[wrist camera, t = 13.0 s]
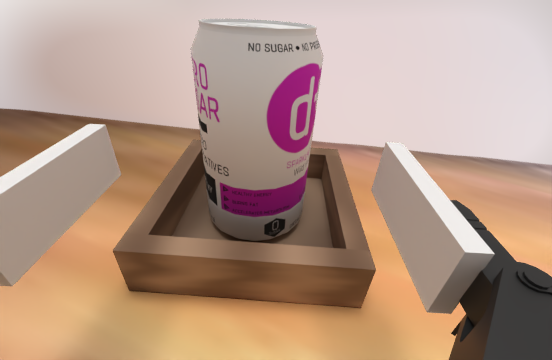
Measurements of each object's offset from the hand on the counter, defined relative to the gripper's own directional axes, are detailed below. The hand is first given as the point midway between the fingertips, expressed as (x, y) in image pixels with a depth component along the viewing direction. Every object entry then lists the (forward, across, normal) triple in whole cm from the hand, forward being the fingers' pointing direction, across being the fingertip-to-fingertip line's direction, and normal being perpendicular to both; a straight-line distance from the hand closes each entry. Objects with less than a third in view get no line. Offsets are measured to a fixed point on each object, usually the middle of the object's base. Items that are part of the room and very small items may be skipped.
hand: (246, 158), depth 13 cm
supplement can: (+7, 0, -10) cm, 12 cm away
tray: (+7, 0, -11) cm, 13 cm away
